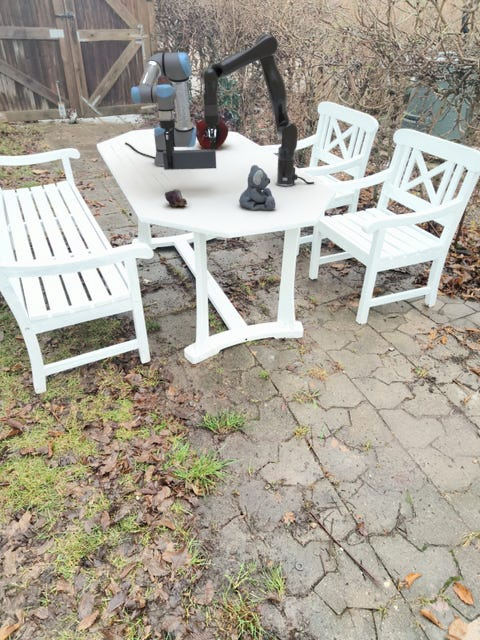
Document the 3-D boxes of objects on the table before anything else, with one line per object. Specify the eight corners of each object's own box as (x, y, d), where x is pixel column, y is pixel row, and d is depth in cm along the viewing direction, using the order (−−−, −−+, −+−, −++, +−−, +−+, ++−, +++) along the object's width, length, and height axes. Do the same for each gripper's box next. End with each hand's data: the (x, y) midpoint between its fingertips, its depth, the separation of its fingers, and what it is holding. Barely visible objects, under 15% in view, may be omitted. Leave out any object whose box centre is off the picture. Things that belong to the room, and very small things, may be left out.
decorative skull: (193, 122, 333) (191, 119, 309) (224, 115, 332) (225, 111, 308) (200, 152, 340) (198, 151, 316) (231, 145, 339) (231, 144, 315)
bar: (164, 169, 237) (162, 153, 232) (165, 167, 241) (163, 150, 236) (216, 168, 238) (215, 151, 233) (216, 165, 242) (215, 149, 237)
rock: (181, 203, 237) (163, 205, 233) (179, 186, 233) (160, 188, 229) (189, 206, 227) (170, 209, 223) (187, 189, 224) (168, 191, 220)
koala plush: (276, 211, 223) (277, 171, 212) (240, 212, 222) (240, 172, 211) (271, 199, 237) (272, 161, 226) (237, 200, 236) (237, 162, 225)
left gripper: (172, 123, 218) (177, 171, 231) (175, 115, 233) (179, 161, 246) (157, 123, 218) (162, 171, 231) (161, 116, 233) (165, 161, 246)
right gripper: (218, 116, 219) (220, 150, 228) (218, 110, 230) (220, 143, 240) (203, 116, 219) (205, 151, 228) (204, 111, 230) (206, 144, 240)
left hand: (171, 166), depth 239 cm, fingers closed on bar, 5 cm apart
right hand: (213, 147), depth 234 cm, fingers open, 8 cm apart
